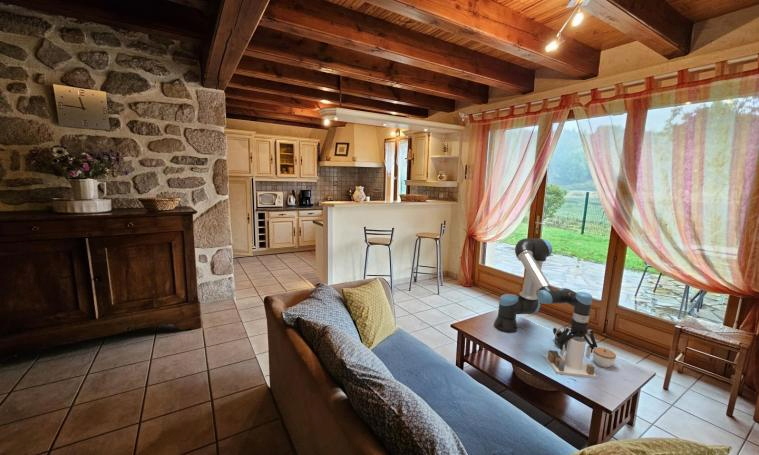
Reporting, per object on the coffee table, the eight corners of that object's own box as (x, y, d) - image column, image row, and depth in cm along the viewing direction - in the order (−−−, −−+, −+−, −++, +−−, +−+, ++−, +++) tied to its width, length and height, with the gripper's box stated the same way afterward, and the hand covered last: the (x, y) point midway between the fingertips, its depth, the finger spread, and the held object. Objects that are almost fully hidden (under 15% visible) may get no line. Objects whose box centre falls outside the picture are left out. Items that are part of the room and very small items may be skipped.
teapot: (563, 351, 196) (565, 336, 194) (545, 341, 207) (547, 327, 205) (574, 348, 200) (576, 333, 198) (556, 339, 211) (558, 324, 209)
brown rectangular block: (562, 367, 175) (563, 360, 174) (556, 367, 176) (557, 359, 175) (555, 358, 184) (556, 351, 184) (549, 357, 185) (551, 350, 184)
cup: (584, 370, 174) (588, 343, 172) (567, 368, 176) (572, 341, 173) (578, 362, 182) (582, 335, 180) (562, 359, 184) (566, 333, 181)
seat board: (544, 356, 189) (545, 346, 188) (580, 360, 187) (582, 350, 186) (556, 374, 172) (558, 363, 171) (596, 378, 170) (598, 367, 169)
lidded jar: (587, 361, 186) (589, 346, 185) (599, 357, 191) (601, 343, 189) (606, 371, 177) (608, 356, 175) (618, 367, 181) (621, 352, 180)
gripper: (558, 321, 173) (553, 357, 176) (608, 326, 169) (602, 362, 173) (553, 315, 180) (548, 350, 183) (601, 319, 177) (595, 355, 180)
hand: (574, 356), depth 178 cm, fingers open, 13 cm apart
